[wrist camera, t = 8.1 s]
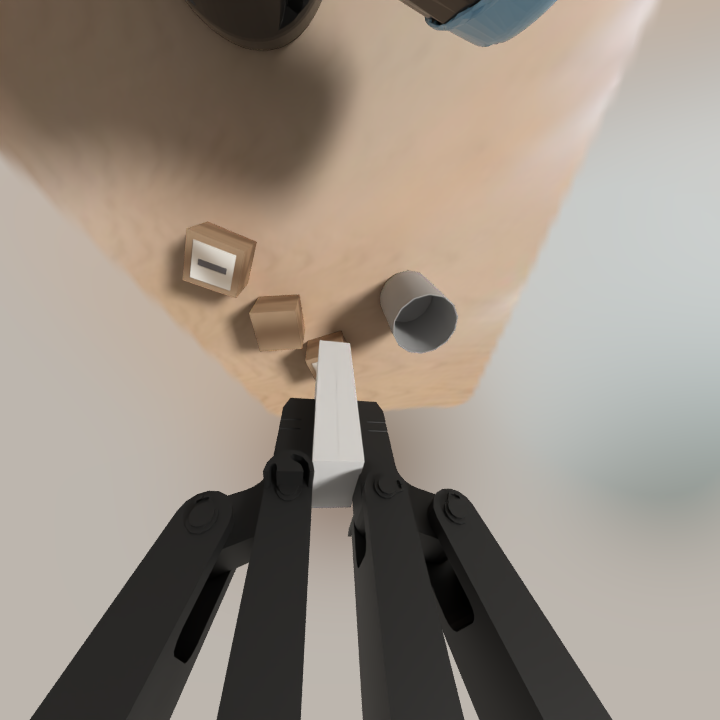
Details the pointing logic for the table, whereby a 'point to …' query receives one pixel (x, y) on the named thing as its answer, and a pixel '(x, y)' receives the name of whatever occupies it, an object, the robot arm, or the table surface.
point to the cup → (417, 312)
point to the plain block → (278, 322)
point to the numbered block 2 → (314, 350)
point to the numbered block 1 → (217, 259)
